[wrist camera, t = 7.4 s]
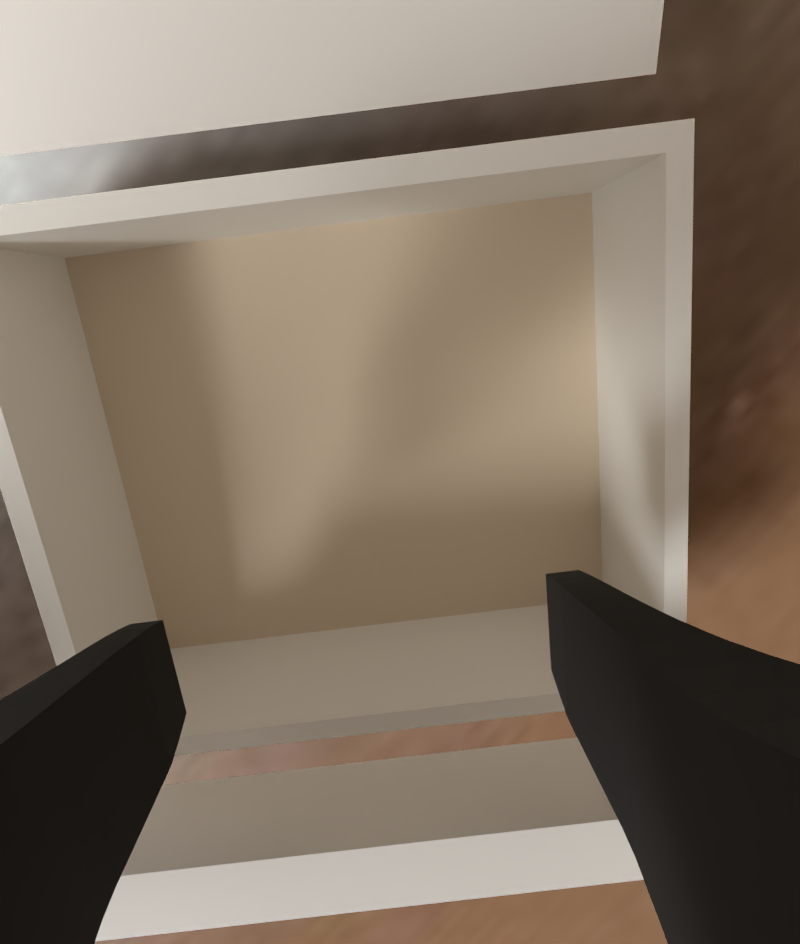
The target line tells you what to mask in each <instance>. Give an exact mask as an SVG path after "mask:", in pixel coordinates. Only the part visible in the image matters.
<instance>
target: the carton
mask: <svg viewBox="0 0 800 944" xmlns="http://www.w3.org/2000/svg"><path fill="white" fill-rule="evenodd" d="M694 124H695V118H692V119H684V120H676V121H668V122H660V123H652V124H644V125H636V126H628V127H620V128H612V129H604V130H596V131H588V132H580V133H572V134H564V135H556V136H548V137H540V138H532V139H524V140H516V141H508V142H500V143H492V144H484V145H476V146H468V147H460V148H452V149H444V150H436V151H428V152H420V153H412V154H404V155H396V156H388V157H380V158H372V159H364V160H356V161H348V162H340V163H332V164H324V165H316V166H308V167H300V168H292V169H284V170H276V171H268V172H260V173H252V174H244V175H236V176H228V177H220V178H212V179H204V180H196V181H188V182H180V183H172V184H164V185H156V186H148V187H140V188H132V189H124V190H116V191H108V192H100V193H92V194H84V195H76V196H68V197H60V198H52V199H44V200H36V201H28V202H20V203H12V204H4V205H0V489H1V492H2V495H3V499H4V502H5V505H6V508H7V511H8V514H9V518H10V521H11V524H12V527H13V530H14V533H15V537H16V540H17V543H18V546H19V549H20V552H21V555H22V559H23V562H24V565H25V568H26V571H27V574H28V578H29V581H30V584H31V587H32V590H33V593H34V597H35V600H36V603H37V606H38V609H39V612H40V615H41V619H42V622H43V625H44V628H45V631H46V634H47V638H48V641H49V644H50V647H51V650H52V653H53V657H54V660H55V663H56V666H58V665H59V664H61V663H63V662H64V661H66V660H68V659H69V658H71V657H72V656H74V655H76V654H77V653H79V652H80V651H82V650H84V649H85V648H87V647H89V646H90V645H92V644H94V643H95V642H97V641H99V640H100V639H102V638H104V637H106V636H107V635H109V634H111V633H113V632H115V631H117V630H118V629H120V628H123V627H125V626H127V625H129V624H134V623H142V622H151V621H159V620H163V623H164V627H165V631H166V635H167V639H168V642H169V646H170V650H171V654H172V658H173V662H174V666H175V670H176V673H177V677H178V681H179V685H180V689H181V693H182V697H183V701H184V705H185V708H186V712H187V713H186V717H185V721H184V724H183V728H182V731H181V735H180V739H179V742H178V745H177V748H176V752H175V755H174V756H178V755H187V754H196V753H204V752H213V751H222V750H230V749H239V748H248V747H256V746H265V745H274V744H282V743H291V742H300V741H308V740H317V739H326V738H334V737H343V736H351V735H360V734H369V733H377V732H386V731H395V730H403V729H412V728H421V727H429V726H438V725H447V724H455V723H464V722H473V721H481V720H490V719H499V718H507V717H516V716H525V715H533V714H542V713H551V712H559V711H565V709H564V706H563V703H562V700H561V698H560V695H559V692H558V689H557V686H556V683H555V680H554V677H553V674H552V670H551V658H550V641H549V624H548V607H547V590H546V574H549V573H557V572H565V571H574V570H580V571H582V572H585V573H587V574H589V575H591V576H593V577H595V578H597V579H599V580H601V581H603V582H605V583H607V584H609V585H611V586H612V587H614V588H616V589H618V590H620V591H622V592H624V593H626V594H628V595H630V596H631V597H633V598H635V599H637V600H639V601H641V602H643V603H645V604H647V605H649V606H651V607H653V608H655V609H657V610H659V611H661V612H663V613H665V614H667V615H670V616H672V617H674V618H676V619H678V620H680V621H683V622H685V623H687V565H688V502H689V439H690V376H691V313H692V250H693V187H694Z"/></svg>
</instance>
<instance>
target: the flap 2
mask: <svg viewBox="0 0 800 944" xmlns="http://www.w3.org/2000/svg"><path fill="white" fill-rule="evenodd" d="M636 880H644V879H643V876H642V873H641V871H640V868H639V866H638V863H637V860H636V858H635V855H634V853H633V851H632V849H631V846H630V844H629V842H628V840H627V837H626V835H625V833H624V831H623V828H622V826H621V824H620V822H619V820H618V818H617V816H616V814H615V812H614V810H613V808H612V806H611V804H610V802H609V800H608V798H607V796H606V794H605V792H604V790H603V788H602V786H601V784H600V782H599V780H598V778H597V776H596V774H595V772H594V770H593V768H592V766H591V764H590V762H589V760H588V758H587V756H586V754H585V752H584V750H583V748H582V746H581V744H580V742H579V740H578V738H577V737H575V738H567V739H558V740H549V741H541V742H532V743H523V744H515V745H506V746H497V747H489V748H480V749H471V750H463V751H454V752H445V753H436V754H428V755H419V756H410V757H402V758H393V759H384V760H376V761H367V762H358V763H350V764H341V765H332V766H323V767H315V768H306V769H297V770H289V771H280V772H271V773H263V774H254V775H245V776H237V777H228V778H219V779H211V780H202V781H193V782H184V783H176V784H167V785H162V787H161V789H160V791H159V794H158V796H157V798H156V800H155V803H154V805H153V807H152V809H151V811H150V814H149V816H148V818H147V820H146V822H145V824H144V827H143V829H142V831H141V833H140V835H139V838H138V840H137V842H136V844H135V846H134V848H133V851H132V853H131V855H130V857H129V859H128V862H127V864H126V866H125V868H124V870H123V872H122V875H121V877H120V879H119V881H118V883H117V886H116V888H115V890H114V893H113V895H112V898H111V900H110V902H109V905H108V907H107V910H106V912H105V915H104V917H103V920H102V923H101V925H100V928H99V931H98V934H97V937H96V940H95V941H103V940H112V939H121V938H130V937H138V936H147V935H156V934H165V933H174V932H183V931H192V930H201V929H210V928H218V927H227V926H236V925H245V924H254V923H263V922H272V921H281V920H289V919H298V918H307V917H316V916H325V915H334V914H343V913H352V912H360V911H369V910H378V909H387V908H396V907H405V906H414V905H423V904H431V903H440V902H449V901H458V900H467V899H476V898H485V897H494V896H503V895H511V894H520V893H529V892H538V891H547V890H556V889H565V888H574V887H582V886H591V885H600V884H609V883H618V882H627V881H636Z"/></svg>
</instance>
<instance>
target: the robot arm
mask: <svg viewBox="0 0 800 944" xmlns="http://www.w3.org/2000/svg"><path fill="white" fill-rule="evenodd" d="M546 590H547V607H548V624H549V641H550V658H551V670H552V674H553V677H554V680H555V683H556V686H557V689H558V692H559V695H560V698H561V700H562V703H563V706H564V709H565V712H566V715H567V717H568V719H569V721H570V723H571V726H572V728H573V730H574V732H575V734H576V736H577V738H578V740H579V742H580V744H581V746H582V748H583V750H584V752H585V754H586V756H587V758H588V760H589V762H590V764H591V766H592V768H593V770H594V772H595V774H596V776H597V778H598V780H599V782H600V784H601V786H602V788H603V790H604V792H605V794H606V796H607V798H608V800H609V802H610V804H611V806H612V808H613V810H614V812H615V814H616V816H617V818H618V820H619V822H620V824H621V826H622V828H623V831H624V833H625V835H626V837H627V840H628V842H629V844H630V846H631V849H632V851H633V853H634V855H635V858H636V860H637V863H638V866H639V868H640V871H641V873H642V876H643V879H644V881H645V884H646V887H647V889H648V892H649V894H650V897H651V900H652V902H653V905H654V907H655V910H656V913H657V915H658V918H659V921H660V923H661V926H662V929H663V931H664V934H665V937H666V940H667V942H668V944H800V664H796V663H793V662H790V661H787V660H783V659H780V658H777V657H774V656H770V655H768V654H765V653H762V652H759V651H756V650H753V649H750V648H748V647H745V646H742V645H739V644H736V643H733V642H730V641H728V640H725V639H723V638H720V637H718V636H715V635H713V634H710V633H708V632H705V631H703V630H701V629H699V628H696V627H694V626H692V625H689V624H687V623H685V622H683V621H680V620H678V619H676V618H674V617H672V616H670V615H667V614H665V613H663V612H661V611H659V610H657V609H655V608H653V607H651V606H649V605H647V604H645V603H643V602H641V601H639V600H637V599H635V598H633V597H631V596H630V595H628V594H626V593H624V592H622V591H620V590H618V589H616V588H614V587H612V586H611V585H609V584H607V583H605V582H603V581H601V580H599V579H597V578H595V577H593V576H591V575H589V574H587V573H585V572H582V571H580V570H574V571H565V572H557V573H549V574H546ZM186 713H187V712H186V708H185V705H184V701H183V697H182V693H181V689H180V685H179V681H178V677H177V673H176V670H175V666H174V662H173V658H172V654H171V650H170V646H169V642H168V639H167V635H166V631H165V627H164V623H163V620H159V621H151V622H142V623H134V624H129V625H127V626H125V627H123V628H120V629H118V630H117V631H115V632H113V633H111V634H109V635H107V636H106V637H104V638H102V639H100V640H99V641H97V642H95V643H94V644H92V645H90V646H89V647H87V648H85V649H84V650H82V651H80V652H79V653H77V654H76V655H74V656H72V657H71V658H69V659H68V660H66V661H64V662H63V663H61V664H59V665H58V666H56V667H55V668H53V669H51V670H50V671H48V672H47V673H45V674H43V675H42V676H40V677H38V678H37V679H35V680H34V681H32V682H30V683H29V684H27V685H25V686H23V687H22V688H20V689H18V690H17V691H15V692H13V693H11V694H10V695H8V696H6V697H5V698H3V699H1V700H0V944H94V943H95V940H96V937H97V934H98V931H99V928H100V925H101V923H102V920H103V917H104V915H105V912H106V910H107V907H108V905H109V902H110V900H111V898H112V895H113V893H114V890H115V888H116V886H117V883H118V881H119V879H120V877H121V875H122V872H123V870H124V868H125V866H126V864H127V862H128V859H129V857H130V855H131V853H132V851H133V848H134V846H135V844H136V842H137V840H138V838H139V835H140V833H141V831H142V829H143V827H144V824H145V822H146V820H147V818H148V816H149V814H150V811H151V809H152V807H153V805H154V803H155V800H156V798H157V796H158V794H159V791H160V789H161V787H162V785H163V782H164V780H165V778H166V776H167V773H168V771H169V769H170V766H171V764H172V761H173V758H174V755H175V752H176V748H177V745H178V742H179V739H180V735H181V731H182V728H183V724H184V721H185V717H186Z"/></svg>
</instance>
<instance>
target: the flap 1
mask: <svg viewBox="0 0 800 944" xmlns="http://www.w3.org/2000/svg"><path fill="white" fill-rule="evenodd" d="M663 7H664V0H0V156H8V155H16V154H23V153H31V152H39V151H47V150H55V149H63V148H71V147H79V146H87V145H95V144H103V143H111V142H119V141H127V140H135V139H143V138H151V137H159V136H167V135H175V134H182V133H190V132H198V131H206V130H214V129H222V128H230V127H238V126H246V125H254V124H262V123H270V122H278V121H286V120H294V119H302V118H310V117H318V116H326V115H333V114H341V113H349V112H357V111H365V110H373V109H381V108H389V107H397V106H405V105H413V104H421V103H429V102H437V101H445V100H453V99H461V98H469V97H477V96H485V95H492V94H500V93H508V92H516V91H524V90H532V89H540V88H548V87H556V86H564V85H572V84H580V83H588V82H596V81H604V80H612V79H620V78H628V77H636V76H644V75H651V74H656V69H657V60H658V51H659V42H660V33H661V25H662V16H663Z"/></svg>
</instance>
